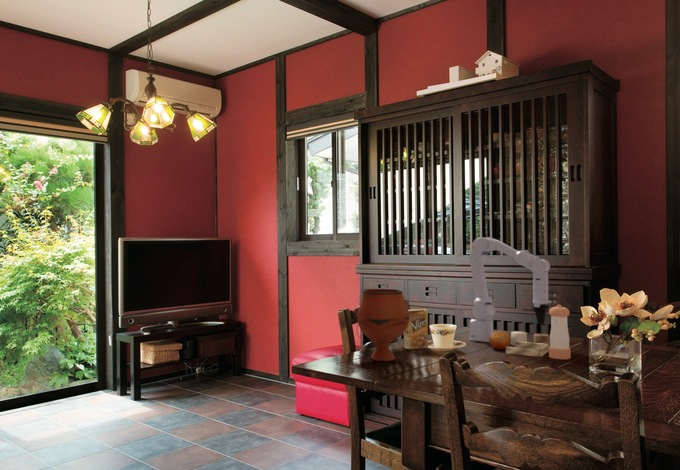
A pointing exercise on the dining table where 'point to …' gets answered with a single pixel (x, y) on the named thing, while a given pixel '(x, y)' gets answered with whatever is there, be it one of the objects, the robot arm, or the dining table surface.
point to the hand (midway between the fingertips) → (541, 323)
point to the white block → (518, 337)
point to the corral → (528, 349)
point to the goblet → (383, 319)
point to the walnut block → (541, 338)
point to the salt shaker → (559, 333)
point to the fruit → (499, 340)
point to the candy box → (416, 329)
